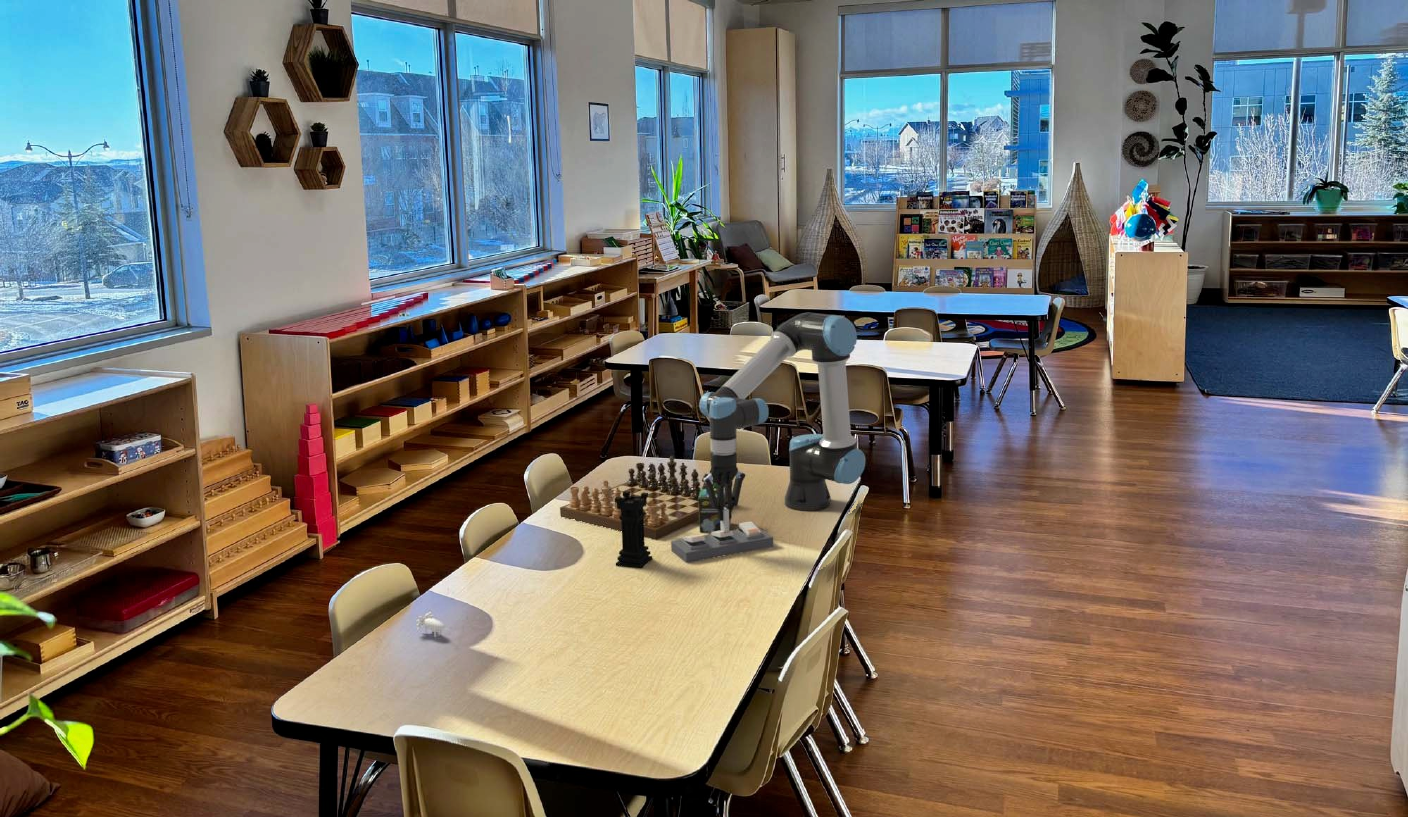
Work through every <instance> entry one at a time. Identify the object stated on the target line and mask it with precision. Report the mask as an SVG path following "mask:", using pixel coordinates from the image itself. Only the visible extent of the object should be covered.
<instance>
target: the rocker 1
mask: <svg viewBox="0 0 1408 817" xmlns="http://www.w3.org/2000/svg"><path fill="white" fill-rule="evenodd" d="M703 536H704V535H699V534H693V535H686V536H683V538H682V539H684V541H688V542H698V541H703V540H705V537H703Z"/></svg>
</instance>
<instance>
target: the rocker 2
mask: <svg viewBox="0 0 1408 817" xmlns="http://www.w3.org/2000/svg"><path fill="white" fill-rule="evenodd" d="M738 527H739V529H740V528H741V529H742V530H743V531H744V533H745V534H746V535H747V536H754V535H759V534H761V531H760V530H759V529H758V528H759V527H758V526H757V527H758V528H757V527H756V525H755V524H754V523H753V522H752V521H751V520H750V521H745V522H740V523H738Z"/></svg>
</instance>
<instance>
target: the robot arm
mask: <svg viewBox="0 0 1408 817" xmlns="http://www.w3.org/2000/svg"><path fill="white" fill-rule="evenodd" d="M857 340H858V336H857V330H856V327H855V325H854V324H853V322H852V321H850V320H849V319H848V318H846V317H845V316H840V315H837V314H826V313H817V312H812V311H811V312H804V313H803V312H802V313H799V314H797V315H795V316H793V317H791V318H789V319H788V320H786V321H785V322H784V323H782V324H781V325H780V326H779V327H777V328H776V329H775V330H774V331H773V332H772V333H771V334H770V339H769V341H767V342H766V343H765V344H764V345H763V346H762V347H761V348H759V350H758V351H757V352H756V353H755V354H754V355H753V356H752V357H751V358H750V359H748V361H747V362H745V363H744V365H742V366H741V367H740V368H739V369H738V371H736V372H735V373H734V374H733V375H732V376H731V377H730V378H729V379H728V380H727V381H726V382H725V383H724V384H723V385H722V386H721V387H720V388H719V389H717V390H716V391H711V392H710V391H709V392H708V391H707V392H705V393H704V394H703V395H702V396H701V397H700V399H699V410H700V412H701V414H702V415H704V416H705V417H708V418H709V434H710V435H709V439H710V440H709V441H710V444H709V446H710V452H711V453H710V469H709V474H708V476H707V477H702V478H701V481H702V480H703V481H704V482H703V484H704V483H705V484H706V487H707V491H708V495H709V499H710V503H711V506H712V507H713V508H715V509H717V510H718V520H720V524H721V530H722V531H724V532H728V531H730V528H729V519H731V520H732V517H733V515H732V514H733V513H732V510H734V507H736V506H738V505H739V504H738V503H739V500H740V499H739V498H740V494H741V489H742V485H743V482H744V479H745V477H746V474H745V473H744V472H742V471H739V468H738V467H737V466H738V465H737V464H738V458H737V457H738V456H737V455H738V453H737V452H736V451H738V450H737V448H738V447H737V446H738V445H737V442H738V441H737V432H738V431H737V430H740V429H744V428H748V427H753V426H757V425H761V424H764V423H765V422H766V421H767V420H768V418H769V414H770V412H769V407H768V406H769V405H768V404H767V403H766V401H765V400H764V399H762V398H757V397H756V398H751V399H746V398H748V396H750V394H751V393H752V392H753V391H755V389H756V388H757V387H759V386H760V384H761V383H763V382H764V380H766V379H767V378H768V376H770V375H771V374H772V373H773V372H774V370H776V369H777V368H778V367H779V366H780V365H781V364H782V363H783V362H784V361H785V360H786V359H787V358H792V357H794V356H795V355H796V354H797V353H798V352H800V351H803V350H804V351H805V350H806V351H811V359H812V360H811V361H812V362H814V363H815V364H816V365H817V371H818V383H819V396H820V397H819V398H820V399H819V400H820V409H821V419H822V420H821V421H822V433H823V434H821V433H811V434H810V433H809V434H801V435H797V436H795V437H792V438H791V439H790V441H789V450H788V451H789V452H788V455H789V458H788V459H789V483H788V486H787V489H786V491H785V492H786V493H785V495H784V505H785V507H787V508H789V509H792V510H796V509H798V511H806V510H809V511H811V512H812V511H819V510H824V509H827V508H829V507H830V506H831V505H832V504H831V500H832V497H831V494H830V491H829V487H828V485H827V481H826V480H828V481H831V482H835V483H836V484H844V485H850V484H851V485H852V484H853V483H855V482H856V481H858V479H859V478H860V477H861V476H862V474H863V472H864V470H865V467H866V456H865V453H864V452H863V451H862V450H861V449H859V448H857V439H856V438H855V436H853V435H852V434H851V421H850V420H851V419H850V417H851V416H850V406H849V405H850V404H849V403H850V402H849V393H848V392H849V391H848V379H847V378H848V377H847V366H846V364H847V362H848V360H850V358H851V354H852V353H853V351H854V350H855V349H856V347H855V345H857ZM712 479H714V480H715V482H716V487H717V499H716V495H715V491H714V486H713V484H712V483H713V481H712ZM733 481H734V483H733ZM724 489H725V507H726V508H725V507H724ZM809 511H808V512H809Z"/></svg>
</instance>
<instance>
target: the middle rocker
mask: <svg viewBox="0 0 1408 817" xmlns="http://www.w3.org/2000/svg"><path fill="white" fill-rule="evenodd" d="M731 531H732V530H729V531H728V532H724V531H722V530H720V531H714V532H710V534H712V536H717V537H726V536H731V535H733V532H731Z"/></svg>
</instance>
